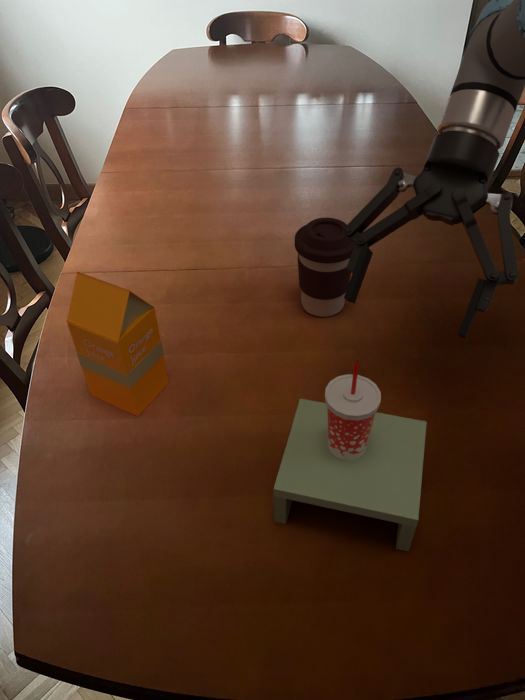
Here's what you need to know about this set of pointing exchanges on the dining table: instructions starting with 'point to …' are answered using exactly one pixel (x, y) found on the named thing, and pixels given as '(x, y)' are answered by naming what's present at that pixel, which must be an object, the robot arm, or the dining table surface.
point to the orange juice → (117, 344)
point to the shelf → (354, 470)
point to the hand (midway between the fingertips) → (403, 318)
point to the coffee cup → (323, 265)
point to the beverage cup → (350, 413)
